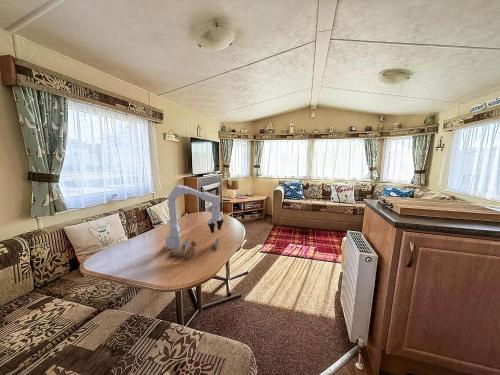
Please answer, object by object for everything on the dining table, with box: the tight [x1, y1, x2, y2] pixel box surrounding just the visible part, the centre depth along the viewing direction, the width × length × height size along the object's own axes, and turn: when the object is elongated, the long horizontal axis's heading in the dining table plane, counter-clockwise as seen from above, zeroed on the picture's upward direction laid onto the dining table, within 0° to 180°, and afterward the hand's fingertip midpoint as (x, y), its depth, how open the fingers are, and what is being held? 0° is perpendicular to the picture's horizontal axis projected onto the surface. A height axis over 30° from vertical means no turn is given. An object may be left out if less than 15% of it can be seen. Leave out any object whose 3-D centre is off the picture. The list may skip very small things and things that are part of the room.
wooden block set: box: [168, 240, 198, 260], centre depth 128 cm, size 18×9×10 cm
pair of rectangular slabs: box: [182, 237, 220, 252], centre depth 141 cm, size 22×12×4 cm, turn 93°
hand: (215, 231), depth 145 cm, fingers open, 7 cm apart
